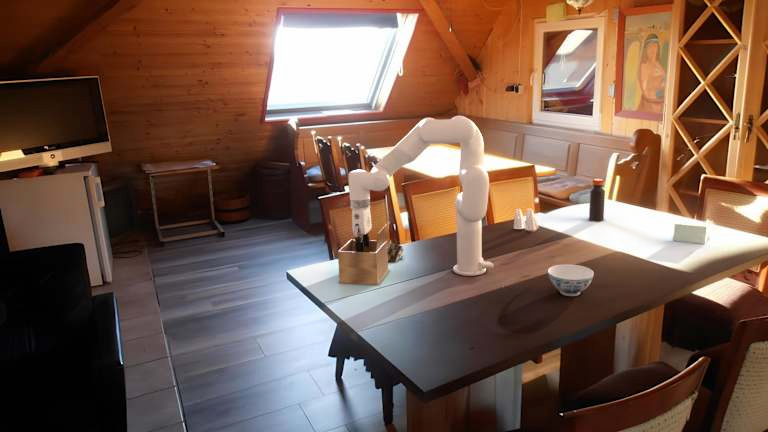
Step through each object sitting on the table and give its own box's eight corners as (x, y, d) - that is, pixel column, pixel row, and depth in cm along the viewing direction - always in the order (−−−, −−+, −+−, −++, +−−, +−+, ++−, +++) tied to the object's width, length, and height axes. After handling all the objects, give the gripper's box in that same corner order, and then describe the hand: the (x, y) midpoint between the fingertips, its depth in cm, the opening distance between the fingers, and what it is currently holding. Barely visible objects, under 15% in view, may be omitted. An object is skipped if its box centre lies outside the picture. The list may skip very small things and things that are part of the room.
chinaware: (586, 304, 197) (587, 282, 195) (541, 296, 204) (542, 275, 203) (597, 288, 209) (598, 267, 207) (554, 282, 217) (555, 262, 215)
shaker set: (539, 231, 279) (539, 208, 276) (533, 233, 276) (534, 210, 274) (518, 227, 288) (518, 204, 285) (512, 228, 285) (513, 206, 283)
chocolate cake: (398, 265, 244) (407, 239, 249) (382, 260, 244) (391, 234, 250) (397, 273, 252) (406, 249, 257) (381, 268, 253) (390, 244, 258)
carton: (388, 270, 236) (387, 240, 233) (377, 285, 222) (376, 253, 219) (352, 269, 240) (350, 239, 237) (339, 282, 226) (337, 251, 223)
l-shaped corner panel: (707, 236, 261) (709, 219, 259) (704, 244, 251) (706, 226, 249) (677, 233, 267) (678, 217, 265) (673, 240, 257) (674, 223, 255)
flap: (386, 239, 233) (387, 239, 233) (375, 251, 219) (376, 251, 219) (389, 221, 231) (389, 221, 231) (378, 232, 217) (378, 232, 216)
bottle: (590, 221, 292) (591, 181, 287) (587, 217, 299) (589, 178, 294) (604, 221, 291) (606, 181, 286) (602, 217, 297) (604, 178, 292)
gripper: (362, 209, 214) (365, 256, 219) (376, 198, 230) (378, 242, 235) (343, 208, 216) (346, 255, 221) (357, 198, 232) (360, 242, 237)
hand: (362, 248), depth 228 cm, fingers open, 6 cm apart
